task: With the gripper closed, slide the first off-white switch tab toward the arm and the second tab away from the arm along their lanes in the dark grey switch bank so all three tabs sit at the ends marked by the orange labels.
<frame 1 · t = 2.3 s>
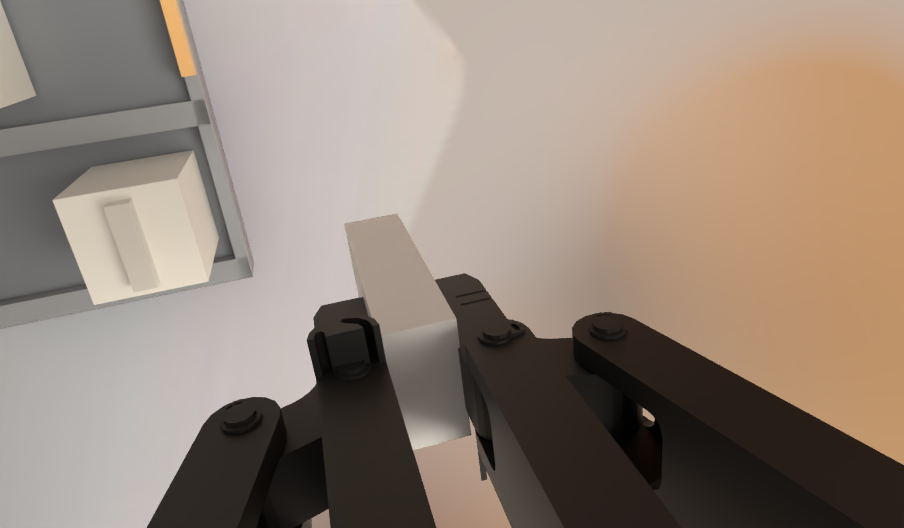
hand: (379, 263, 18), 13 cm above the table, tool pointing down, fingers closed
tab a: (146, 224, 24), point 4 cm above the table, slide at 5.0 cm
switch bank: (42, 37, 24), on the table
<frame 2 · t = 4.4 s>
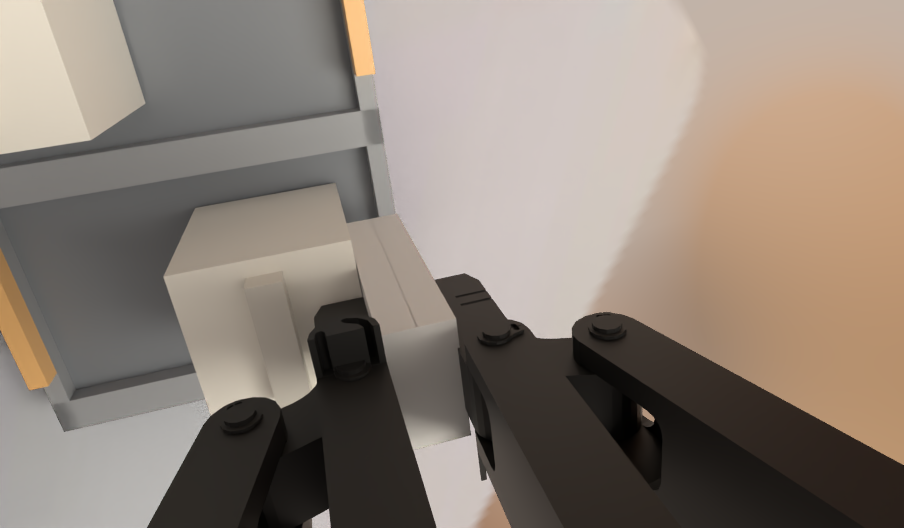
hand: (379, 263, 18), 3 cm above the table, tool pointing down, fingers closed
tab a: (281, 296, 16), point 4 cm above the table, slide at 4.4 cm, touching gripper
switch bank: (152, 18, 17), on the table
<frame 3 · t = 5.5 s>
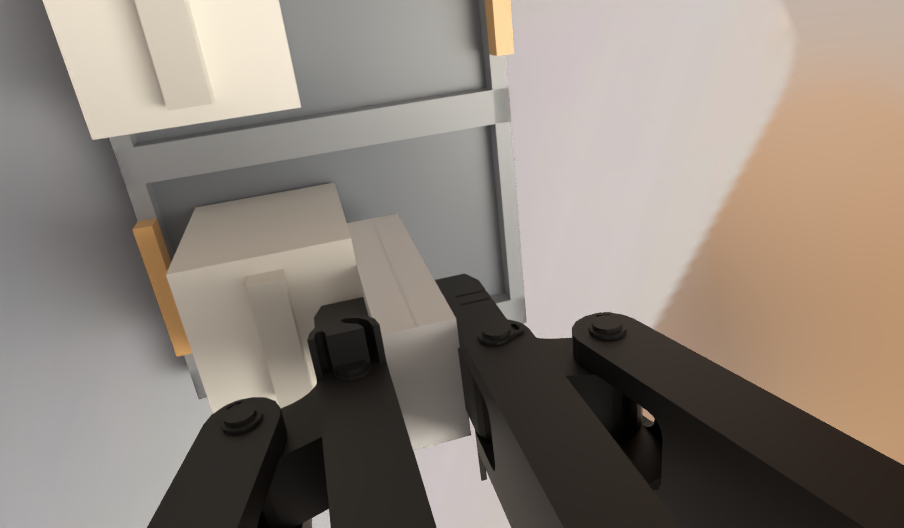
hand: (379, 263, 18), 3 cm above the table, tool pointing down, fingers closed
tab a: (281, 295, 16), point 4 cm above the table, slide at 0.5 cm, touching gripper
tab b: (186, 14, 13), point 4 cm above the table, slide at 0.0 cm
switch bank: (297, 1, 18), on the table
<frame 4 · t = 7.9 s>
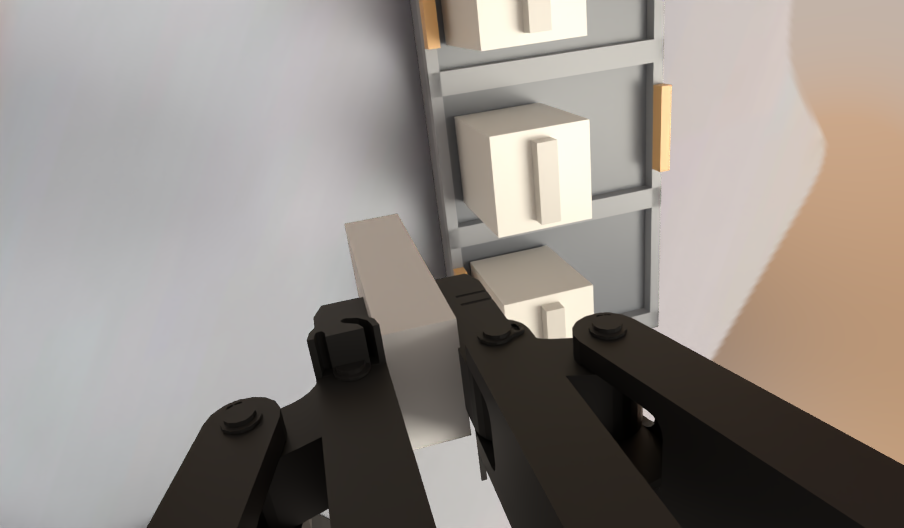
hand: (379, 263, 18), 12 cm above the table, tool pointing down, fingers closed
tab a: (532, 314, 29), point 4 cm above the table, slide at 0.0 cm
tab b: (522, 167, 26), point 4 cm above the table, slide at 0.0 cm
switch bank: (540, 138, 30), on the table
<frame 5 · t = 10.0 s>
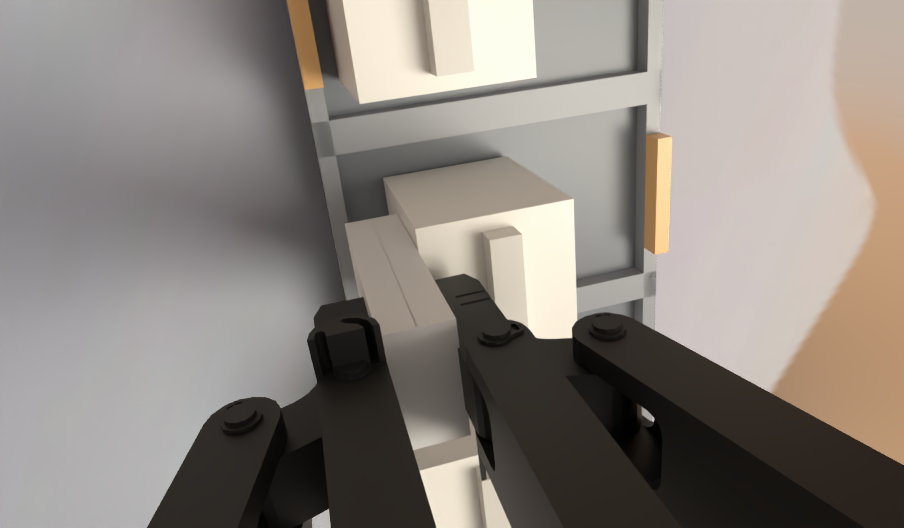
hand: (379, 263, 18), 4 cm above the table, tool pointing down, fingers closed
tab a: (472, 457, 20), point 4 cm above the table, slide at 0.0 cm
tab b: (477, 257, 18), point 4 cm above the table, slide at 0.8 cm, touching gripper
switch bank: (489, 205, 22), on the table
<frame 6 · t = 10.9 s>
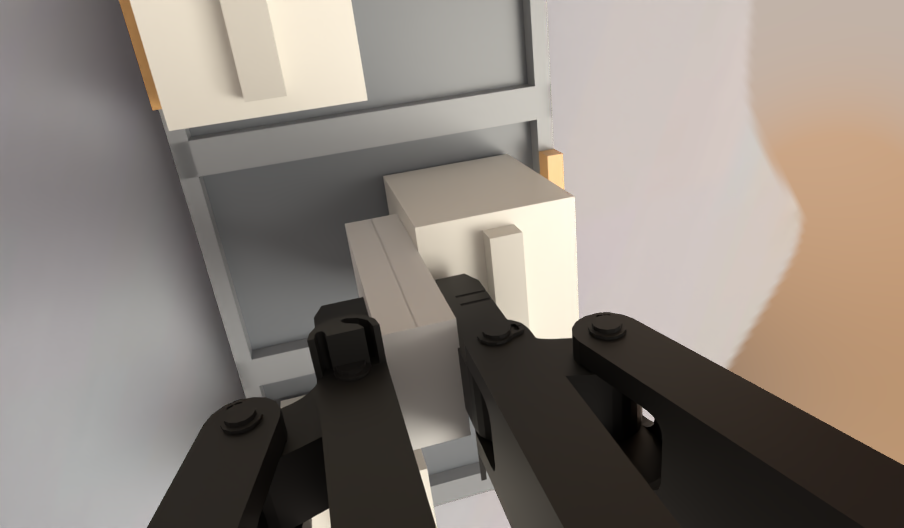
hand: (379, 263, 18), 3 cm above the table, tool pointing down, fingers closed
tab a: (359, 487, 19), point 4 cm above the table, slide at 0.0 cm
tab b: (478, 255, 17), point 4 cm above the table, slide at 4.6 cm, touching gripper
tab c: (251, 10, 14), point 4 cm above the table, slide at 0.0 cm
switch bank: (383, 223, 21), on the table
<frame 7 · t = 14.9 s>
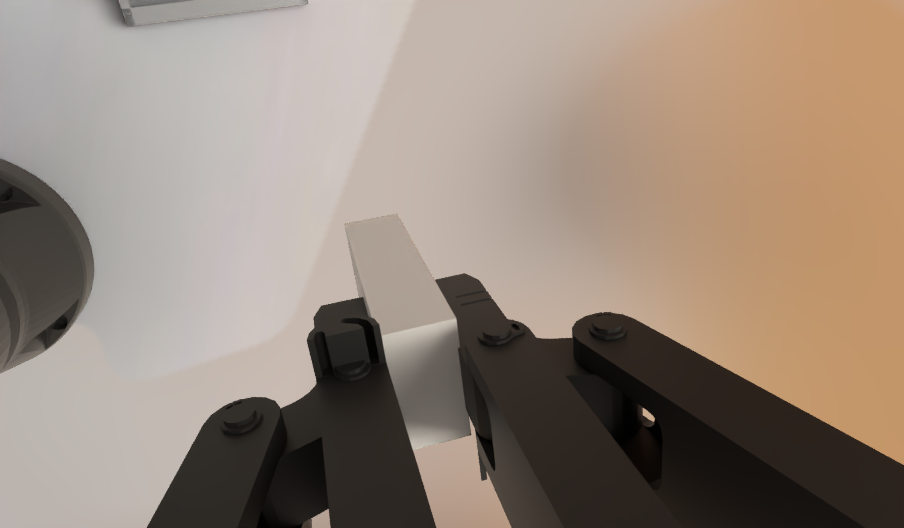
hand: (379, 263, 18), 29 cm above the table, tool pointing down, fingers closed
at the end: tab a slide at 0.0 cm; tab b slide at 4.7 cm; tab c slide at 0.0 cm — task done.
